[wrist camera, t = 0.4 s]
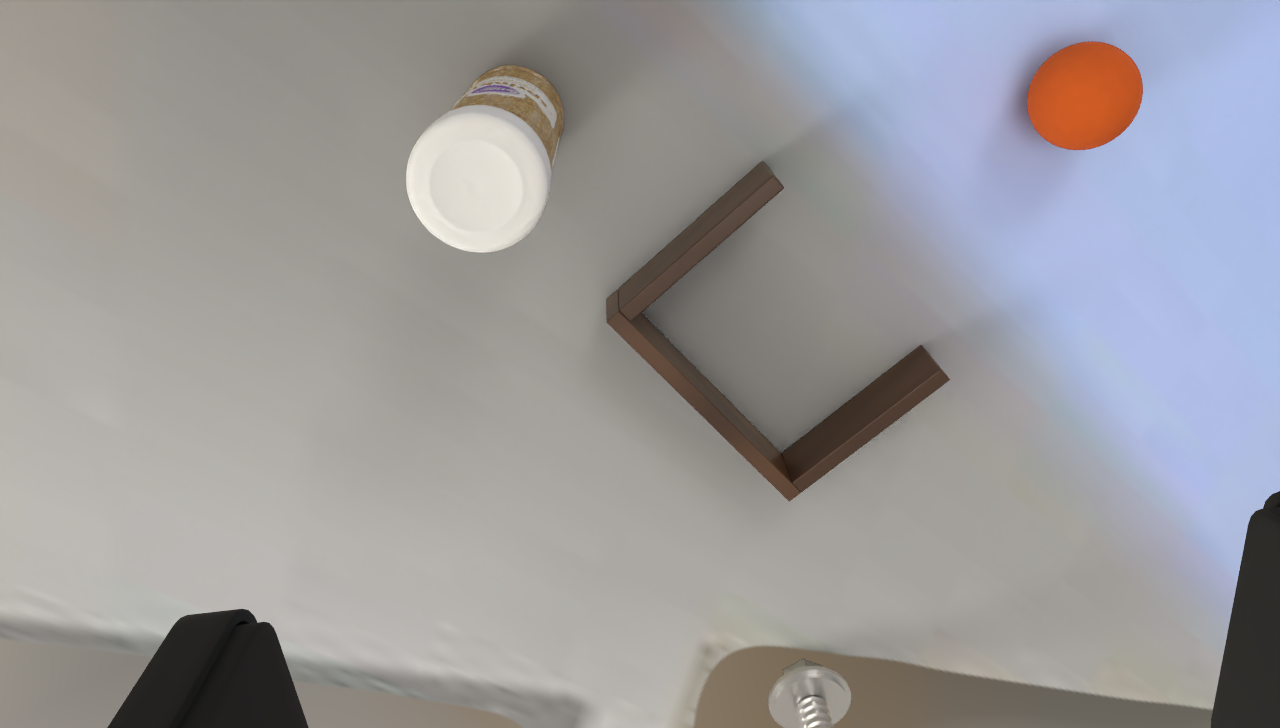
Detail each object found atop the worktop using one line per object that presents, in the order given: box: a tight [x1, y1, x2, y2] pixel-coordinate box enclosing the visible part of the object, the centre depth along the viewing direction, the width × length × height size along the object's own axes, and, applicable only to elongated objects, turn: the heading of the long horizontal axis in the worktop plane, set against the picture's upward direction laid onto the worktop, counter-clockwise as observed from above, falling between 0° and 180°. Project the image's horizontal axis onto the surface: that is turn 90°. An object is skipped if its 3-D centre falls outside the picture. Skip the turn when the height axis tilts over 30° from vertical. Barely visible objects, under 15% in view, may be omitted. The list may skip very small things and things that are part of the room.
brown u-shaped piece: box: [606, 162, 950, 501], centre depth 45 cm, size 14×10×3 cm
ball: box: [1027, 42, 1143, 150], centre depth 40 cm, size 4×4×4 cm
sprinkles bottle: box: [406, 65, 564, 253], centre depth 35 cm, size 5×5×14 cm
